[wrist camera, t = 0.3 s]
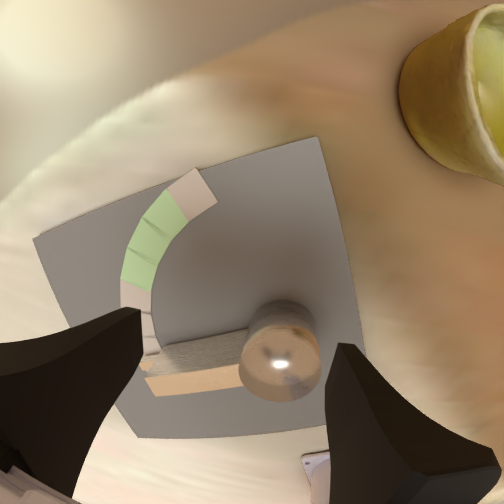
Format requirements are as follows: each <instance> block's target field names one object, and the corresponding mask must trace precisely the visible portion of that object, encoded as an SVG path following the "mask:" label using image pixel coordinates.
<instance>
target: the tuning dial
mask: <svg viewBox="0 0 504 504" xmlns="http://www.w3.org/2000/svg"><path fill="white" fill-rule="evenodd" d="M139 366H140V367H141V369H142V371H143V370H149V371H148V372H147V374H146V376H145V377H144V379H145V381H146V382H147V384H148V385H149V387H150V389H151V390H152V392H153V394H154V395H155V397H157V396H168V395H179V394H188V393H196V392H204V391H212V390H219V389H226V388H233V387H239V386H245V388H246V389H247V390H248V391H250V392H251V393H252V394H254V395H255V396H257V397H259V398H261V399H264V400H268V401H273V402H288V401H293V400H297V399H300V398H302V397H304V396H306V395H307V394H309V393H310V392H311V391H312V390H313V389H314V388H315V387H316V386H317V384H318V382H319V380H320V377H321V361H320V351H319V341H318V331H317V324H316V321H315V318H314V317H313V315H312V314H311V312H310V311H309V310H308V309H307V308H305V307H304V306H302V305H300V304H298V303H296V302H292V301H285V300H281V301H274V302H270V303H267V304H265V305H263V306H262V307H260V308H259V309H258V310H257V311H256V312H255V313H254V315H253V316H252V318H251V320H250V324H249V328H248V329H245V330H240V331H236V332H231V333H227V334H222V335H217V336H212V337H208V338H203V339H198V340H193V341H187V342H182V343H177V344H172V345H166V346H164V347H163V348H162V350H161V352H160V353H159V354H158V355H151V356H145V357H142V359H141V361H140V363H139Z"/></svg>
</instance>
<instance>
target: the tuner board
mask: <svg viewBox="0 0 504 504" xmlns="http://www.w3.org/2000/svg"><path fill="white" fill-rule="evenodd" d="M33 242H34V245H35V248H36V250H37V253H38V256H39V258H40V261H41V264H42V266H43V269H44V271H45V273H46V276H47V278H48V281H49V283H50V285H51V288H52V290H53V292H54V294H55V297H56V299H57V301H58V303H59V305H60V308H61V310H62V312H63V314H64V316H65V318H66V320H67V322H68V324H69V326H70V328H72V327H75V326H78V325H80V324H83V323H86V322H88V321H90V320H93V319H95V318H98V317H100V316H103V315H105V314H107V313H110V312H112V311H115V310H117V309H120V308H123V307H132V308H136V309H140V310H141V320H142V336H143V350H144V354H143V357H145V356H151V355H158V354H159V353H160V352H161V350H162V348H163V347H164V346H166V345H172V344H177V343H182V342H187V341H193V340H198V339H203V338H208V337H212V336H217V335H222V334H227V333H231V332H236V331H240V330H245V329H248V328H249V324H250V320H251V318H252V316H253V315H254V313H255V312H256V311H257V310H258V309H259V308H260V307H262V306H263V305H265V304H267V303H270V302H274V301H281V300H285V301H292V302H296V303H298V304H300V305H302V306H304V307H305V308H307V309H308V310H309V311H310V312H311V314H312V315H313V317H314V318H315V321H316V324H317V331H318V341H319V351H320V361H321V377H320V380H319V382H318V384H317V386H316V387H315V388H314V389H313V390H312V391H311V392H310V393H309V394H307V395H306V396H304V397H302V398H300V399H297V400H293V401H288V402H273V401H268V400H264V399H261V398H259V397H257V396H255V395H254V394H252V393H251V392H250V391H248V390H247V389H246V388H245V386H239V387H233V388H226V389H219V390H212V391H204V392H196V393H188V394H179V395H168V396H157V397H155V395H154V394H153V392H152V390H151V389H150V387H149V385H148V384H147V382H146V381H145V379H144V377H145V376H146V374H147V372H148V371H149V370H143V371H142V369H141V367H140V366H139V365H138V367H137V369H136V371H135V373H134V375H133V377H132V378H131V380H130V381H129V383H128V384H127V385H126V387H125V388H124V390H123V391H122V393H121V394H120V396H119V397H118V399H117V400H116V402H115V403H114V404H115V406H116V407H117V409H118V410H119V412H120V413H121V415H122V416H123V417H124V419H125V420H126V422H127V423H128V425H129V426H130V427H131V429H132V430H133V432H134V433H135V434H136V436H137V437H138V438H160V439H192V438H219V437H235V436H247V435H258V434H267V433H275V432H283V431H291V430H297V429H304V428H310V427H316V426H321V425H326V418H325V384H326V381H327V377H328V374H329V371H330V368H331V365H332V361H333V358H334V355H335V351H336V348H337V344H338V342H340V343H349V344H355V345H356V346H357V347H358V348H359V350H360V351H361V352H362V353H363V354H364V356H365V349H364V342H363V336H362V329H361V323H360V317H359V311H358V306H357V300H356V295H355V289H354V284H353V279H352V274H351V269H350V264H349V259H348V254H347V250H346V245H345V241H344V236H343V232H342V227H341V223H340V219H339V215H338V211H337V207H336V203H335V199H334V195H333V191H332V187H331V183H330V179H329V175H328V172H327V168H326V164H325V161H324V157H323V154H322V150H321V147H320V143H319V140H318V137H317V136H316V137H312V138H308V139H304V140H300V141H297V142H293V143H289V144H285V145H282V146H278V147H275V148H271V149H268V150H264V151H261V152H257V153H254V154H250V155H247V156H244V157H241V158H237V159H234V160H231V161H228V162H225V163H221V164H218V165H215V166H212V167H209V168H206V169H203V170H200V171H198V170H197V168H196V167H195V168H194V169H193V170H191V171H190V172H188V173H187V174H186V175H184V176H183V177H180V178H177V179H174V180H172V181H169V182H166V183H163V184H161V185H158V186H155V187H152V188H150V189H147V190H145V191H142V192H139V193H137V194H134V195H132V196H129V197H127V198H124V199H122V200H119V201H117V202H114V203H112V204H109V205H107V206H104V207H102V208H100V209H97V210H95V211H93V212H90V213H88V214H86V215H83V216H81V217H79V218H76V219H74V220H72V221H70V222H67V223H65V224H63V225H61V226H59V227H56V228H54V229H52V230H50V231H48V232H46V233H44V234H42V235H39V236H37V237H35V238H33ZM365 357H366V356H365Z"/></svg>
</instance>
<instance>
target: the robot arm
mask: <svg viewBox="0 0 504 504" xmlns="http://www.w3.org/2000/svg"><path fill="white" fill-rule="evenodd" d="M143 354H144V350H143V336H142V320H141V310H140V309H136V308H132V307H123V308H120V309H117V310H115V311H112V312H110V313H107V314H105V315H103V316H100V317H98V318H95V319H93V320H90V321H88V322H86V323H83V324H80V325H78V326H75V327H72V328H69V329H67V330H64V331H61V332H58V333H55V334H51V335H47V336H43V337H39V338H35V339H29V340H23V341H17V342H9V343H0V504H81V503H79V502H77V501H75V500H73V499H72V496H73V493H74V489H75V486H76V483H77V480H78V477H79V474H80V471H81V469H82V466H83V463H84V461H85V458H86V456H87V454H88V451H89V449H90V447H91V444H92V442H93V440H94V438H95V436H96V434H97V432H98V430H99V428H100V426H101V424H102V422H103V420H104V418H105V417H106V415H107V413H108V412H109V410H110V409H111V407H112V406H113V405H114V403H115V402H116V400H117V399H118V397H119V396H120V394H121V393H122V391H123V390H124V388H125V387H126V385H127V384H128V383H129V381H130V380H131V378H132V377H133V375H134V373H135V371H136V369H137V367H138V365H139V363H140V361H141V359H142V357H143ZM325 418H326V426H327V435H328V443H329V452H323V453H317V454H310V455H304V456H302V458H301V461H302V464H303V466H304V469H305V472H306V474H307V477H308V480H309V482H310V485H311V504H477V503H478V502H479V501H480V500H481V499H482V498H483V497H484V496H485V495H486V494H488V493H489V492H490V491H491V489H492V488H493V487H494V486H495V485H496V484H497V482H498V480H499V478H500V476H501V471H502V470H501V467H500V465H499V463H498V461H497V458H496V456H495V454H494V452H493V450H492V449H491V448H489V447H486V446H483V445H481V444H478V443H476V442H473V441H471V440H468V439H466V438H464V437H462V436H460V435H458V434H456V433H454V432H452V431H450V430H448V429H446V428H445V427H443V426H441V425H440V424H438V423H437V422H435V421H433V420H432V419H430V418H429V417H427V416H426V415H425V414H423V413H422V412H420V411H419V410H418V409H417V408H415V407H414V406H413V405H412V404H410V403H409V402H408V401H407V400H406V399H405V398H403V397H402V396H401V395H400V394H399V393H398V392H397V391H396V390H395V389H394V388H393V387H392V386H391V385H390V384H389V383H388V382H387V381H386V380H385V379H384V378H383V376H382V375H381V374H380V373H379V372H378V371H377V370H376V369H375V367H374V366H373V365H372V364H371V363H370V362H369V360H368V359H367V358H366V357H365V356H364V354H363V353H362V352H361V351H360V350H359V348H358V347H357V346H356V345H355V344H349V343H340V342H338V344H337V348H336V351H335V355H334V358H333V361H332V365H331V368H330V371H329V374H328V377H327V381H326V384H325Z"/></svg>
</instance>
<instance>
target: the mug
mask: <svg viewBox="0 0 504 504" xmlns="http://www.w3.org/2000/svg"><path fill="white" fill-rule="evenodd" d="M399 99H400V105H401V109H402V113H403V117H404V119H405V122H406V125H407V127H408V129H409V131H410V133H411V134H412V136H413V137H414V139H415V140H416V142H417V143H418V144H419V145H420V146H421V147H422V149H423V150H424V151H425V152H426V153H427V154H428V155H429V156H431V157H432V158H433V159H434V160H436V161H437V162H438V163H440V164H441V165H443V166H445V167H447V168H449V169H452V170H454V171H457V172H462V173H469V174H474V175H476V176H479V177H482V178H485V179H487V180H489V181H492V182H494V183H496V184H498V185H500V186H502V187H504V4H491V5H487V6H484V7H482V8H480V9H478V10H475V11H473V12H471V13H470V14H468V15H466V16H464V17H461V18H459V19H457V20H456V21H455V22H453V23H451V24H449V25H448V26H447V27H446V28H445V29H443V30H442V31H440V32H439V33H437V34H435V35H433V36H432V37H430V38H429V39H427V40H425V41H424V42H422V43H421V44H419V45H418V46H417V47H416V48H415V49H413V51H412V52H411V53H410V54H409V56H408V57H407V59H406V61H405V63H404V66H403V68H402V71H401V77H400V83H399Z"/></svg>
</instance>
